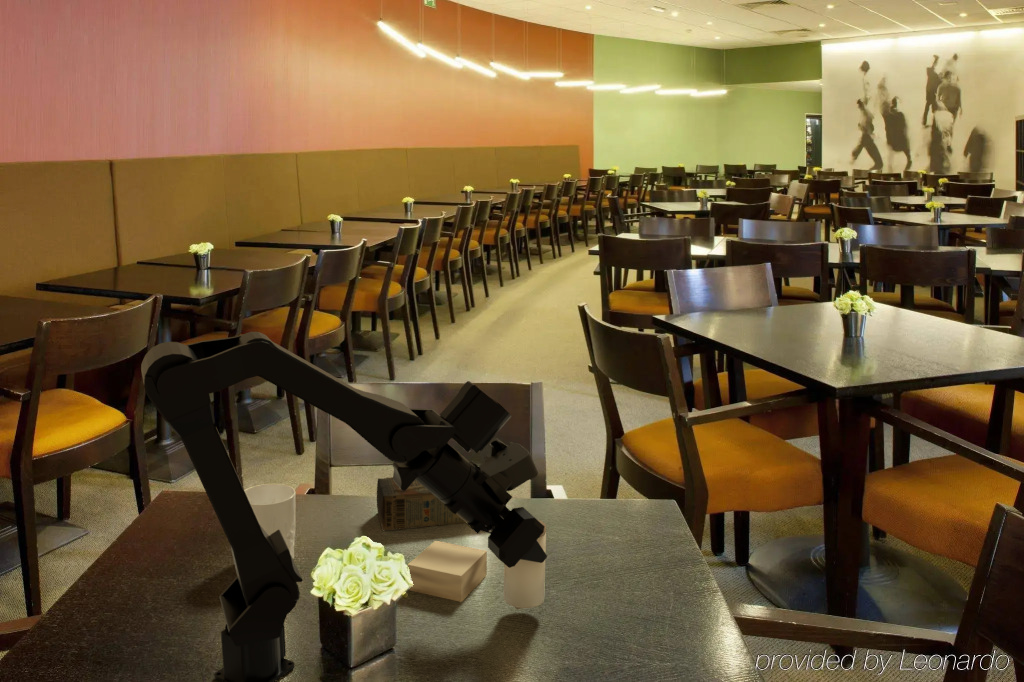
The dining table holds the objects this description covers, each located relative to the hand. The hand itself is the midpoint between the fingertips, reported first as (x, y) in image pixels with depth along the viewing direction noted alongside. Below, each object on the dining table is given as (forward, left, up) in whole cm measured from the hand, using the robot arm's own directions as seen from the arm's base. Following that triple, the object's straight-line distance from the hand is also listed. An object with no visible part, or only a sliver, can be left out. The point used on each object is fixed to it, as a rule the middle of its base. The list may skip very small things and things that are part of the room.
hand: (534, 550), depth 114 cm
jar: (-1, +1, -7) cm, 7 cm away
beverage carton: (+19, +27, -9) cm, 34 cm away
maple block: (+1, +14, -9) cm, 16 cm away
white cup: (-6, +40, -9) cm, 41 cm away
